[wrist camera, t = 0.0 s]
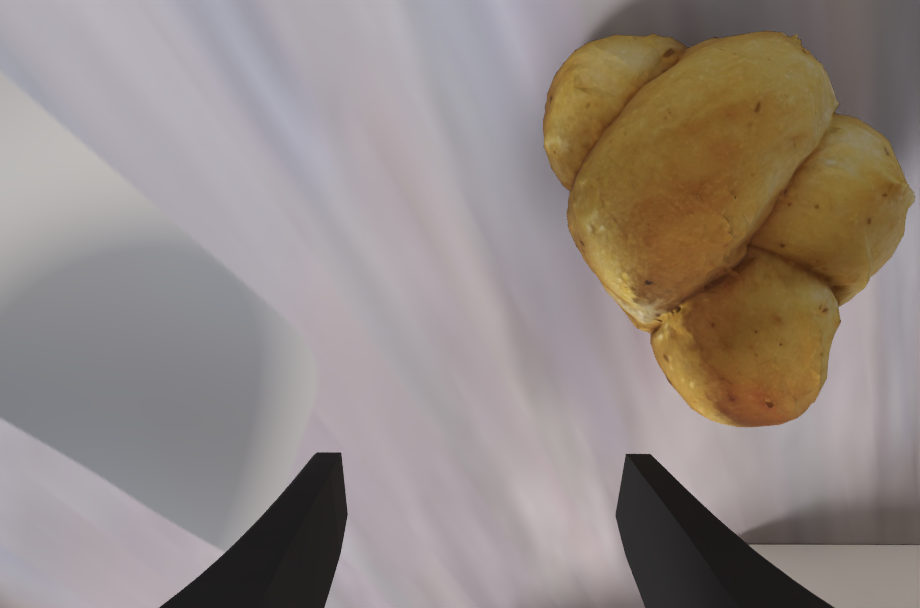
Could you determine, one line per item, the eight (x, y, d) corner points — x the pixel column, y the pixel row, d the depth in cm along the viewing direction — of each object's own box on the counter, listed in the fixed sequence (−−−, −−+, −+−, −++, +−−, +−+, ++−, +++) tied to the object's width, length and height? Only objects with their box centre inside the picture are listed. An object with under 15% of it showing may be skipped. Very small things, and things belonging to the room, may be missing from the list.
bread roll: (478, 125, 19) (490, 151, 12) (709, -71, 17) (905, -192, 9) (653, 357, 23) (744, 484, 16) (860, 225, 21) (1082, 303, 13)
